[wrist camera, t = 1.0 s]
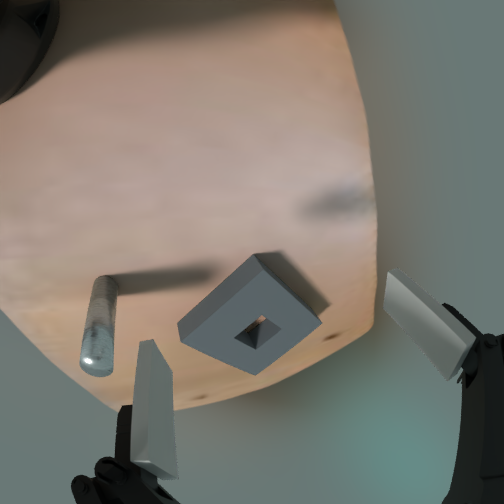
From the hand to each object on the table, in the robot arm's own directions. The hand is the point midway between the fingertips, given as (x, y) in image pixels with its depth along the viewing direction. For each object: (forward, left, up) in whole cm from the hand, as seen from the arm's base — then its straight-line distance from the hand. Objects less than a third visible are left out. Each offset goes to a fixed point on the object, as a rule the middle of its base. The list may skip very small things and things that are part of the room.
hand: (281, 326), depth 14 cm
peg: (-2, -16, -18) cm, 24 cm away
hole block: (+17, -8, -18) cm, 26 cm away
